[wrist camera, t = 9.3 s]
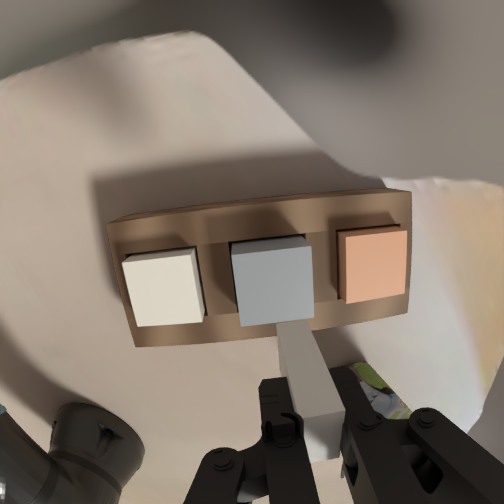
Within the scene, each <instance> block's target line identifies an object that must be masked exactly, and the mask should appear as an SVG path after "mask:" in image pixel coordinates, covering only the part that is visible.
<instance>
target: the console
mask: <svg viewBox="0 0 504 504" xmlns="http://www.w3.org/2000/svg"><path fill="white" fill-rule="evenodd" d="M388 224H392V225H394V226H397V227H400V228H402V229H405V230H407V258H406V278H405V293H404V294H399V295H394V296H389V297H383V298H378V299H372V300H367V301H361V302H355V303H349V304H346V303H345V302H344V300H343V299H342V298H341V296H340V295H339V294H338V293H337V256H336V230H339V229H349V228H358V227H368V226H378V225H388ZM106 228H107V233H108V239H109V244H110V249H111V254H112V259H113V263H114V268H115V272H116V277H117V281H118V285H119V289H120V293H121V297H122V301H123V305H124V309H125V313H126V316H127V320H128V323H129V327H130V330H131V334H132V337H133V340H134V344H135V347H155V346H174V345H189V344H203V343H215V342H226V341H236V340H245V339H254V338H263V337H271V336H277V328H276V324H277V323H285V322H292V321H299V320H307V322H308V325H309V327H310V329H311V331H314V330H320V329H326V328H332V327H338V326H344V325H350V324H355V323H361V322H366V321H371V320H376V319H381V318H386V317H391V316H395V315H400V314H405V313H407V311H408V301H409V289H410V275H411V255H412V192H410V191H404V190H397V189H391V188H378V189H361V190H346V191H332V192H319V193H307V194H296V195H285V196H275V197H265V198H255V199H246V200H237V201H229V202H220V203H212V204H204V205H197V206H189V207H182V208H175V209H168V210H161V211H154V212H147V213H141V214H135V215H128V216H124V217H122V218H119V219H117V220H115V221H112V222H110V223H108V224H106ZM296 235H301V236H302V237H303V238H304V239H305V240H306V241H307V242H308V243H309V244H310V245H311V250H312V269H313V293H314V317H313V318H306V319H299V320H292V321H285V322H277V323H269V324H261V325H252V326H243V327H241V324H240V317H239V309H238V302H237V294H236V287H235V279H234V272H233V264H232V256H231V253H232V243H234V242H242V241H251V240H260V239H269V238H278V237H287V236H296ZM196 245H197V252H198V259H199V265H200V271H201V277H202V283H203V289H204V295H205V301H206V307H205V312H204V316H203V321H202V322H197V323H185V324H172V325H157V326H141V327H138V326H137V323H136V319H135V315H134V311H133V308H132V304H131V300H130V296H129V292H128V287H127V283H126V279H125V274H124V270H123V265H122V262H124V261H125V260H126V259H127V258H128V257H129V256H131V255H132V254H133V253H138V252H146V251H154V250H162V249H171V248H179V247H187V246H196Z"/></svg>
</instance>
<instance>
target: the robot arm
mask: <svg viewBox="0 0 504 504" xmlns="http://www.w3.org/2000/svg"><path fill="white" fill-rule="evenodd" d="M276 328H277V340H278V352H279V364H280V371H281V376H282V377H279V378H271V379H263V380H262V382H261V384H260V386H259V388H258V389H259V399H260V410H261V420H262V424H261V430H262V436H261V439H260V440H259V441H258V442H257V443H256V444H255V445H253V446H252V447H249V448H247V449H244V450H241V451H237V450H235V449H232V448H228V447H223V448H217V449H213V450H211V451H210V452H208V453H207V454H206V455H205V456H204V458H203V459H202V461H201V464H200V466H199V468H198V471H197V473H196V475H195V478H194V480H193V482H192V485H191V487H190V489H189V492H188V494H187V496H186V498H185V501H184V503H183V504H252V501H253V500H255V499H258V498H261V497H264V496H266V495H269V502H270V504H320V501H319V497H318V493H317V489H316V485H315V480H314V476H313V472H312V468H311V464H310V463H314V462H319V461H324V460H329V459H334V458H339V456H340V450H341V453H342V456H343V464H342V470H341V478H344V475H345V477H346V480H347V483H348V486H349V489H350V492H351V495H352V499H353V502H354V504H504V464H502V463H501V462H500V461H499V460H497V459H496V458H495V457H494V456H493V455H491V454H490V453H489V452H488V451H487V450H485V449H484V448H483V447H482V446H480V445H479V444H478V443H477V442H476V441H474V440H473V439H472V438H471V437H470V436H468V435H467V434H466V433H465V432H463V431H462V430H461V429H460V428H459V427H457V426H456V425H455V424H454V423H453V422H451V421H450V420H449V419H448V418H447V417H445V416H444V415H443V414H442V413H440V412H439V411H437V410H436V409H433V408H428V407H427V408H420V409H417V410H415V411H414V412H413V413H412V414H411V415H410V417H409V419H388V418H385V417H384V416H383V415H382V414H381V413H379V412H377V411H375V410H374V409H373V407H372V405H371V403H370V402H369V400H368V398H367V396H366V394H365V392H364V390H363V388H362V387H361V385H360V383H359V381H358V379H357V377H356V375H355V373H354V372H353V371H352V370H351V369H349V368H348V367H346V366H341V367H336V368H331V369H328V368H327V366H326V364H325V361H324V359H323V357H322V354H321V352H320V350H319V347H318V345H317V343H316V341H315V338H314V336H313V334H312V331H311V329H310V327H309V325H308V322H307V320H299V321H292V322H285V323H277V324H276ZM6 410H7V409H6V408H5V407H4V406H2V405H1V404H0V504H118V502H119V498H120V495H121V492H122V489H123V487H124V486H125V485H126V483H127V482H128V481H129V480H130V479H131V477H132V476H133V475H134V473H135V472H136V471H137V470H138V469H139V468H140V466H141V464H142V461H143V457H144V453H145V450H144V445H143V443H142V441H141V439H140V438H139V436H138V435H137V434H136V433H135V431H134V430H133V429H132V428H131V427H129V426H128V425H127V424H126V423H125V422H123V421H122V420H120V419H119V418H117V417H116V416H114V415H112V414H111V413H109V412H107V411H105V410H102V409H100V408H97V407H94V406H91V405H87V404H82V403H70V404H66V405H64V406H63V407H61V408H60V410H59V411H58V413H57V414H56V416H55V418H54V420H53V425H52V428H53V429H52V433H51V440H50V449H49V452H48V454H47V453H46V452H45V451H44V450H43V449H42V448H41V447H40V446H39V445H38V444H37V443H36V442H35V441H34V440H33V439H32V438H31V437H30V436H29V435H28V434H27V433H26V432H25V431H24V430H23V429H22V428H21V427H20V426H19V425H18V424H17V423H16V422H15V420H14V419H13V418H12V417H11V416H10V415H9V414H8V412H7V411H6Z"/></svg>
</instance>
